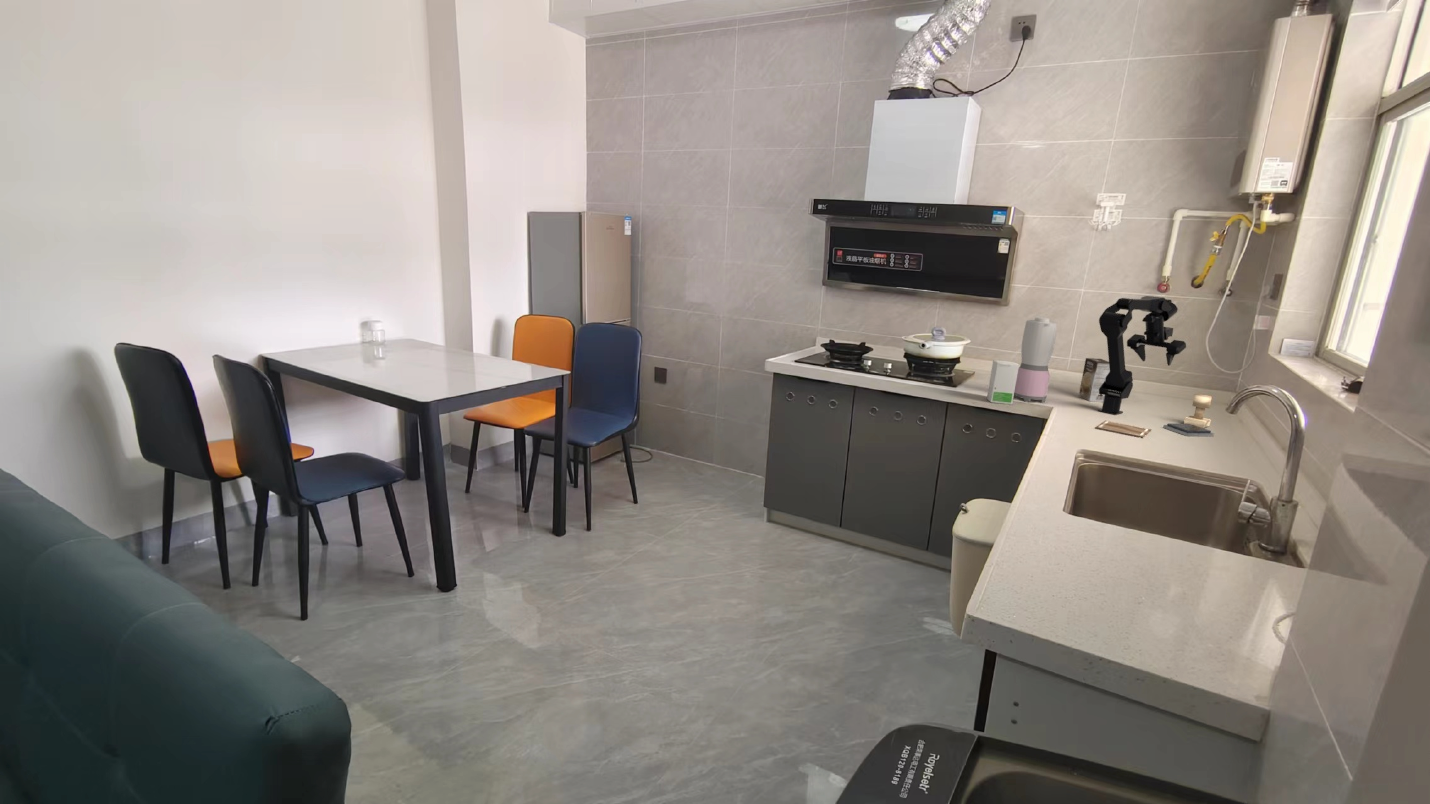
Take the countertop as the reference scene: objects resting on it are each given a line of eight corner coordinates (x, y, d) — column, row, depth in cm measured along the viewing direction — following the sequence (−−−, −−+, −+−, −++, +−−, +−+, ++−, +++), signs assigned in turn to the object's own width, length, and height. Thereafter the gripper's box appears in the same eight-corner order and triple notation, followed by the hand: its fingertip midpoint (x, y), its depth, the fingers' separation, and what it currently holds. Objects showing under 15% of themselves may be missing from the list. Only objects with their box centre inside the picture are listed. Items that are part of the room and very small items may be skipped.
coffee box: (1077, 396, 275) (1084, 357, 271) (1093, 397, 275) (1100, 358, 271) (1089, 401, 266) (1096, 361, 262) (1105, 402, 266) (1113, 362, 262)
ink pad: (1186, 436, 221) (1187, 431, 221) (1163, 427, 231) (1164, 422, 230) (1213, 436, 223) (1214, 431, 222) (1188, 427, 232) (1189, 423, 232)
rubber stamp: (1203, 428, 232) (1210, 398, 230) (1183, 424, 237) (1190, 394, 234) (1209, 426, 236) (1216, 396, 233) (1189, 422, 240) (1196, 393, 238)
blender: (1052, 403, 259) (1066, 320, 251) (1021, 402, 258) (1034, 319, 250) (1031, 394, 274) (1045, 316, 266) (1002, 393, 273) (1015, 314, 266)
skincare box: (990, 402, 255) (996, 362, 251) (985, 398, 261) (991, 359, 257) (1013, 404, 254) (1019, 364, 250) (1008, 400, 260) (1014, 361, 256)
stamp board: (1143, 438, 216) (1143, 436, 216) (1094, 428, 225) (1095, 427, 225) (1151, 430, 226) (1151, 429, 226) (1104, 421, 235) (1105, 420, 235)
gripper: (1193, 320, 247) (1194, 357, 254) (1141, 314, 263) (1143, 348, 269) (1177, 335, 243) (1178, 371, 250) (1124, 327, 259) (1127, 362, 266)
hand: (1156, 362), depth 259 cm, fingers open, 9 cm apart
